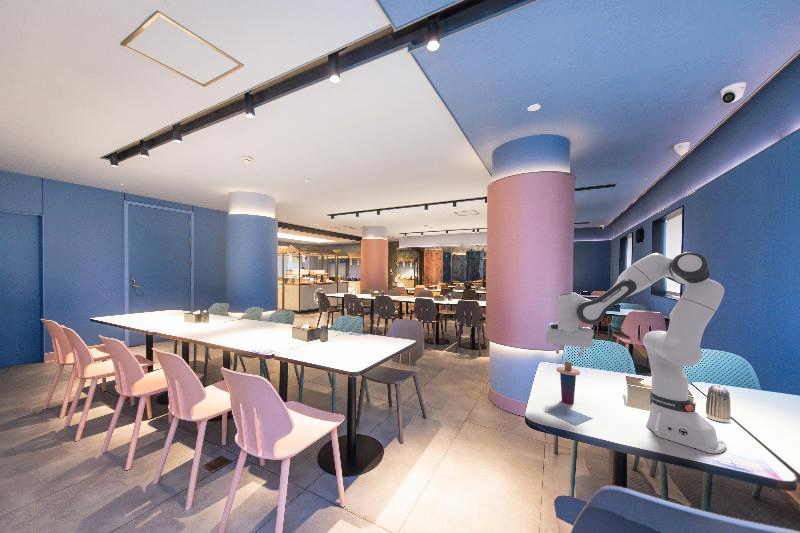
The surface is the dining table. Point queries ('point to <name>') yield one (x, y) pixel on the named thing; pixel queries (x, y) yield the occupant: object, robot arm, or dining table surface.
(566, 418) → the mat
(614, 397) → the dining table surface
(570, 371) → the lid
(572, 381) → the cup
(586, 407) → the dining table surface
